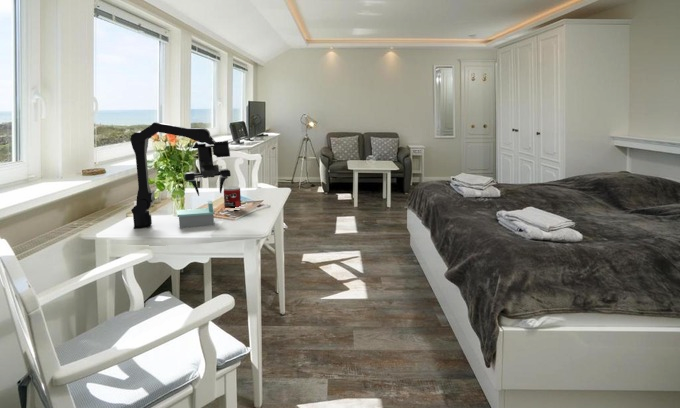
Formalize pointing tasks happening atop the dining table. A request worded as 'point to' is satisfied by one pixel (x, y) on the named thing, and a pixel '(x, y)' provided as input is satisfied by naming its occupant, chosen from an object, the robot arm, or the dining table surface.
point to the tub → (196, 221)
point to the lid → (197, 211)
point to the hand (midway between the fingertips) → (209, 194)
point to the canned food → (232, 197)
